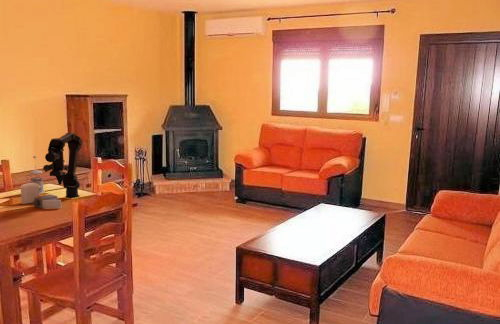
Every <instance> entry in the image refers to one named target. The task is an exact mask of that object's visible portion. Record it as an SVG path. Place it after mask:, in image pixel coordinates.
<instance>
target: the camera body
mask: <svg viewBox="0 0 500 324" xmlns="http://www.w3.org/2000/svg"><path fill="white" fill-rule="evenodd" d="M42 200H59V199H58V196H57V195H54V194H46V195H45V194H44V195H41V196H38V197H35V198H34V201H33V203H32V204H33V206H34V207H35V208H39V209H42V210H44V209H43V207H42Z"/></svg>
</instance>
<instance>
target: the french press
mask: <svg viewBox="0 0 500 324" xmlns="http://www.w3.org/2000/svg"><path fill="white" fill-rule="evenodd" d="M32 158H34V159H36V158H37V156H36V155H33V156H32ZM34 165H35V166H34V167H35V169H34V170H31V171H30V172H29V174H28V175H27V176H26V177H25V179H26V180H25V181H26V183H37V184H38V185H39V194H40V195H41V194H44V193H46V191H45V189H44V180H43V178H42V177H38V176H35V177H32V175H40V174H43V171H41V170H38V169H37V167H36V164H34ZM29 177H31V178H30V181H29V180H28V178H29Z"/></svg>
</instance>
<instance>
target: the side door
mask: <svg viewBox="0 0 500 324" xmlns="http://www.w3.org/2000/svg"><path fill="white" fill-rule="evenodd" d="M42 207H43V209H42V210H44V209H62V200H61V199H58V200H42Z"/></svg>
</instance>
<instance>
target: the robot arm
mask: <svg viewBox="0 0 500 324" xmlns="http://www.w3.org/2000/svg"><path fill="white" fill-rule="evenodd" d="M66 144H67V147H68V149H69V156H68V164H67V165H65V161H66V160H64V151H65V149H64V148H65V146H66ZM82 145H83V140H82V138H81V137H80V136H78V135H76V134H75V133H74V132H66V133H64V134H63V135H62V136H60V137H57V138H51V139H50V142H49V144H48V149H47V153H46V154H45V156H44V158H45V161H46V162H47V163H50V164H44V165H43V167H42V168H43V171H44V172H45V173H47V172H49V177H55V179H56V180H57V181H56V182H57V183H58V185H62V186H63V188H64V189H65V194H66V195H65V198H69V199H74V198H78V197H80V195H79V190H78V189H80V186H81V183H80V181H79V180H78V176H77V174H76V171H77V164H78V163H77V161H78V156H79V155H78V154H79V151H80V150H81V149H82Z"/></svg>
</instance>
